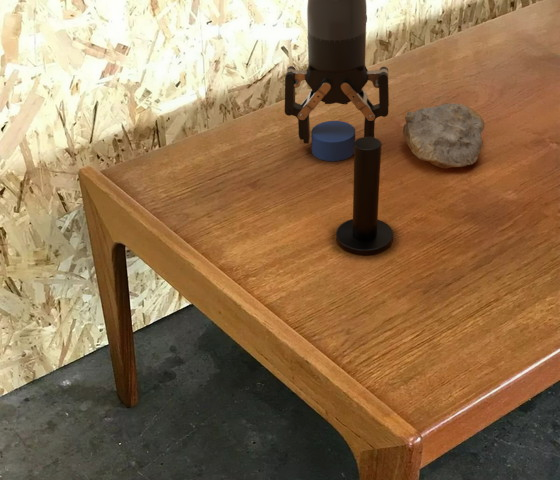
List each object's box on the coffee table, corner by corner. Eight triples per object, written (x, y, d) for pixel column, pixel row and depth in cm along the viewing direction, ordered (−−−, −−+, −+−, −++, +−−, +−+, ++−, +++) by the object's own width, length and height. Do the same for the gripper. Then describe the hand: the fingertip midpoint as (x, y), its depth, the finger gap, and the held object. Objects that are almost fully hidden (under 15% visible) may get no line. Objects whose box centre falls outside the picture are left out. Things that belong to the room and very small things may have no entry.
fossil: (483, 174, 107) (434, 130, 102) (436, 199, 113) (388, 158, 108) (492, 111, 112) (446, 66, 108) (447, 137, 119) (401, 96, 114)
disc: (355, 140, 116) (356, 120, 114) (353, 161, 112) (354, 142, 109) (313, 139, 117) (313, 120, 115) (309, 161, 112) (309, 141, 110)
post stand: (393, 223, 101) (399, 128, 91) (392, 256, 96) (398, 159, 86) (338, 221, 101) (338, 127, 92) (334, 254, 96) (334, 158, 87)
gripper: (278, 38, 100) (284, 154, 111) (392, 37, 98) (386, 155, 110) (284, 15, 105) (289, 128, 117) (393, 14, 104) (387, 129, 115)
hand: (336, 141), depth 113 cm, fingers open, 8 cm apart
